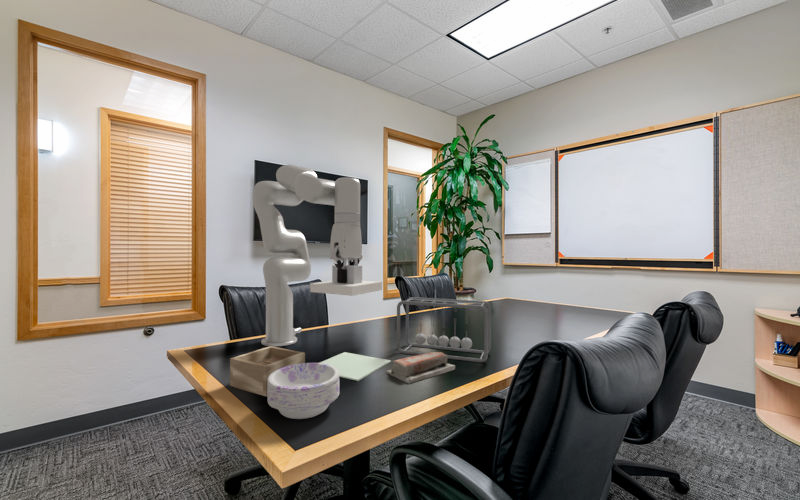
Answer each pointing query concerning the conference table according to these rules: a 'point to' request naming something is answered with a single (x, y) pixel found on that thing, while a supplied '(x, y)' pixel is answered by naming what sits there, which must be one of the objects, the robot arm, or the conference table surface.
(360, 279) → the lid
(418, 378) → the packaged product
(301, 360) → the box
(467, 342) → the newton's cradle
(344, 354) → the mat
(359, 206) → the robot arm
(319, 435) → the conference table surface
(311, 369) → the paper bowls
